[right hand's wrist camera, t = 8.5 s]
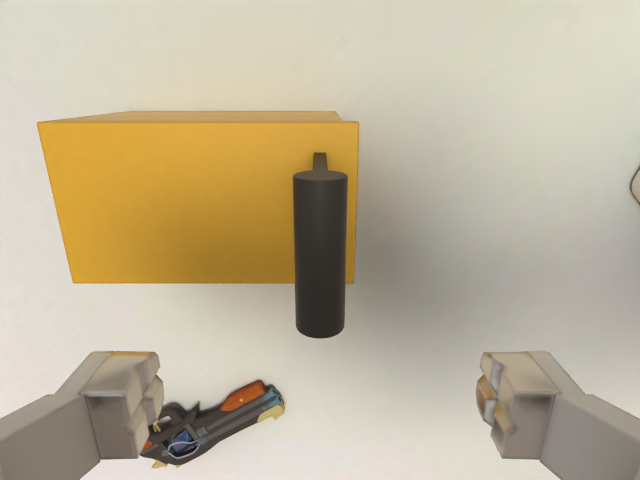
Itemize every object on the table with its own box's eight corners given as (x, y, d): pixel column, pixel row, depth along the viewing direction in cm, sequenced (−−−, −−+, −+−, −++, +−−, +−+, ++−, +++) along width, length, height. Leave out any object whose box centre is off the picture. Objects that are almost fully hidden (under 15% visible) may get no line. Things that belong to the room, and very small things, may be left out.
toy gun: (76, 427, 42) (134, 498, 44) (234, 340, 40) (287, 419, 42) (91, 410, 45) (144, 478, 47) (239, 328, 43) (289, 403, 45)
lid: (357, 121, 24) (380, 140, 15) (352, 276, 27) (368, 367, 18) (47, 120, 24) (-114, 140, 15) (81, 276, 27) (-34, 367, 18)
